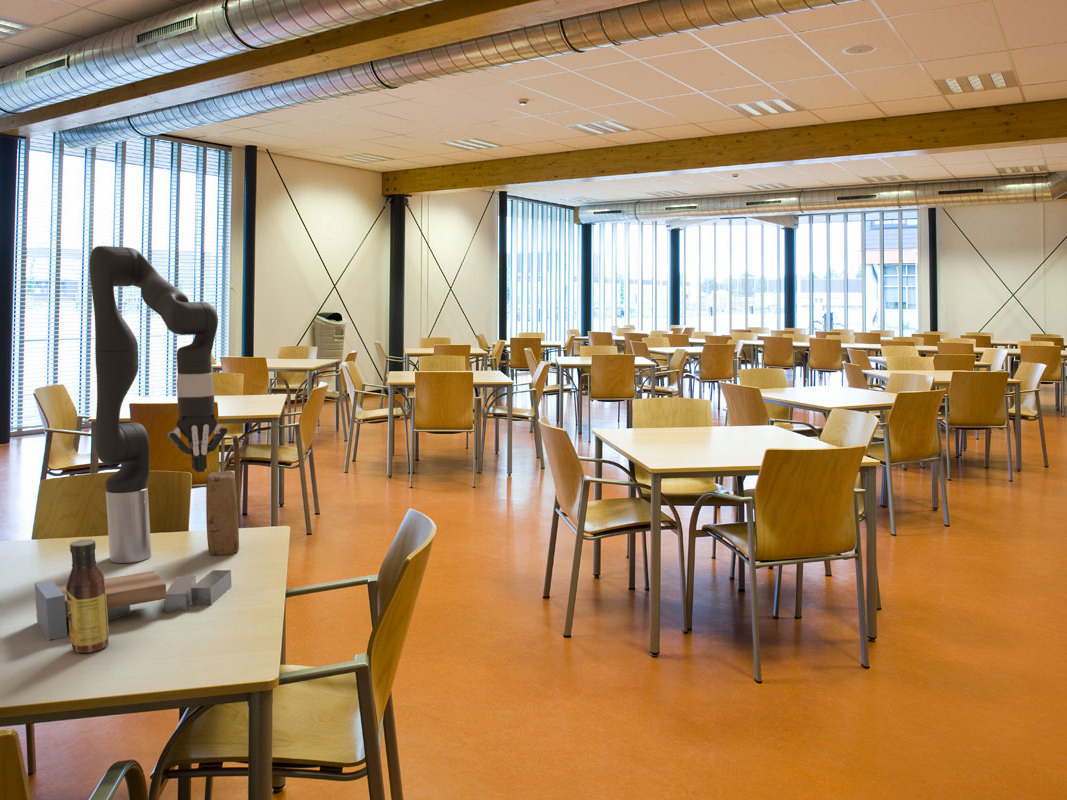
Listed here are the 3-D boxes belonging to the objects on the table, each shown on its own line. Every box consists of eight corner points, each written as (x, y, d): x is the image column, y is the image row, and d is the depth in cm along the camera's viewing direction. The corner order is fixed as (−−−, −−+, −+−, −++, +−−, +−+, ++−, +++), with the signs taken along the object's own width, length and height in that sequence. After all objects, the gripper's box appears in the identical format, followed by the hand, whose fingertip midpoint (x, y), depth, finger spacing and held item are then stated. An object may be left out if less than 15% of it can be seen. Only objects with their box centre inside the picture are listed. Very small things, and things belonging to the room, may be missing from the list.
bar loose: (117, 611, 179) (116, 593, 179) (130, 614, 177) (129, 596, 177) (61, 630, 169) (60, 611, 168) (74, 634, 167) (73, 614, 166)
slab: (57, 601, 173) (57, 586, 173) (154, 584, 184) (154, 571, 184) (65, 616, 165) (64, 601, 165) (166, 598, 176) (165, 584, 175)
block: (239, 555, 218) (236, 475, 216) (207, 558, 215) (203, 477, 213) (239, 544, 228) (235, 468, 226) (208, 546, 225) (204, 470, 223)
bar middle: (176, 594, 189) (176, 576, 189) (196, 593, 190) (195, 575, 189) (165, 614, 177) (164, 594, 177) (186, 612, 178) (185, 593, 178)
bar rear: (213, 587, 193) (212, 570, 193) (231, 587, 193) (230, 570, 193) (191, 606, 182) (191, 587, 181) (211, 606, 182) (210, 587, 181)
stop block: (37, 622, 172) (34, 582, 171) (54, 618, 174) (51, 579, 173) (49, 640, 163) (46, 598, 162) (67, 636, 165) (64, 595, 164)
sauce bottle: (79, 642, 162) (73, 536, 160) (115, 641, 162) (108, 535, 160) (64, 656, 155) (56, 546, 153) (100, 655, 156) (93, 545, 154)
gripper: (220, 390, 199) (223, 465, 201) (159, 394, 191) (163, 473, 193) (231, 393, 194) (235, 470, 196) (169, 397, 185) (173, 478, 187)
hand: (199, 471), depth 194 cm, fingers closed
